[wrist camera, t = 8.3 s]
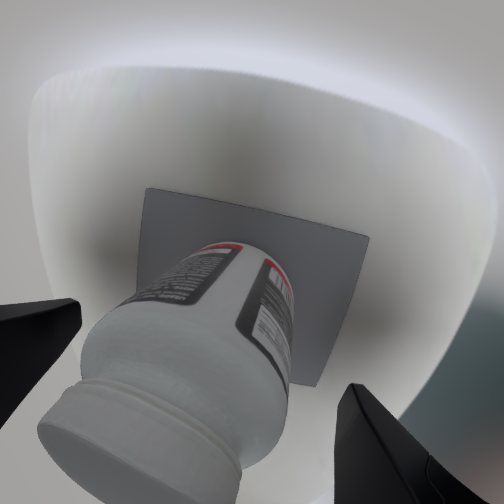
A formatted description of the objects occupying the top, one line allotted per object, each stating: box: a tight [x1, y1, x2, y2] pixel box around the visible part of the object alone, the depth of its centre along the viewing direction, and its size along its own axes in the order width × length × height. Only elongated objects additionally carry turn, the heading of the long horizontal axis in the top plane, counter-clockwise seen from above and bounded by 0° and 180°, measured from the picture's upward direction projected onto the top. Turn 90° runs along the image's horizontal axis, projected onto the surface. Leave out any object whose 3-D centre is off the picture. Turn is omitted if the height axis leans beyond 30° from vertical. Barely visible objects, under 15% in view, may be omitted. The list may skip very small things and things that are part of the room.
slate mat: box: [136, 188, 370, 387], centre depth 13 cm, size 8×10×1 cm
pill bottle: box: [37, 242, 294, 504], centre depth 8 cm, size 5×5×10 cm
